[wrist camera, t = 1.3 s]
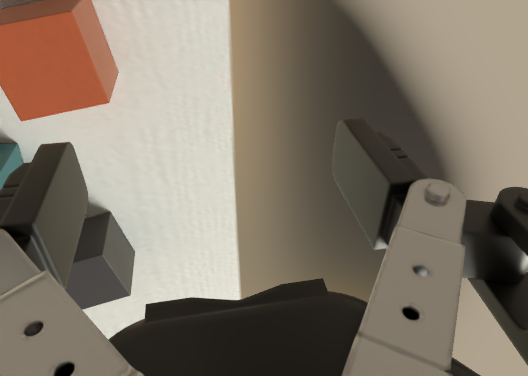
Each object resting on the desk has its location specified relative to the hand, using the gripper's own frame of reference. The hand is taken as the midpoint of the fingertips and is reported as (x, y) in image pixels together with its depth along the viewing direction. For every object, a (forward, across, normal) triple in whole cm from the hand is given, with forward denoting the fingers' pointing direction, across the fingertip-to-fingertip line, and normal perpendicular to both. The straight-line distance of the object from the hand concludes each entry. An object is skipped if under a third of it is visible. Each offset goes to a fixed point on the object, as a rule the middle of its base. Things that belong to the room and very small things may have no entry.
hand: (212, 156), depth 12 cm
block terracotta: (+14, +7, 0) cm, 16 cm away
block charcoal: (+14, +9, +15) cm, 22 cm away
